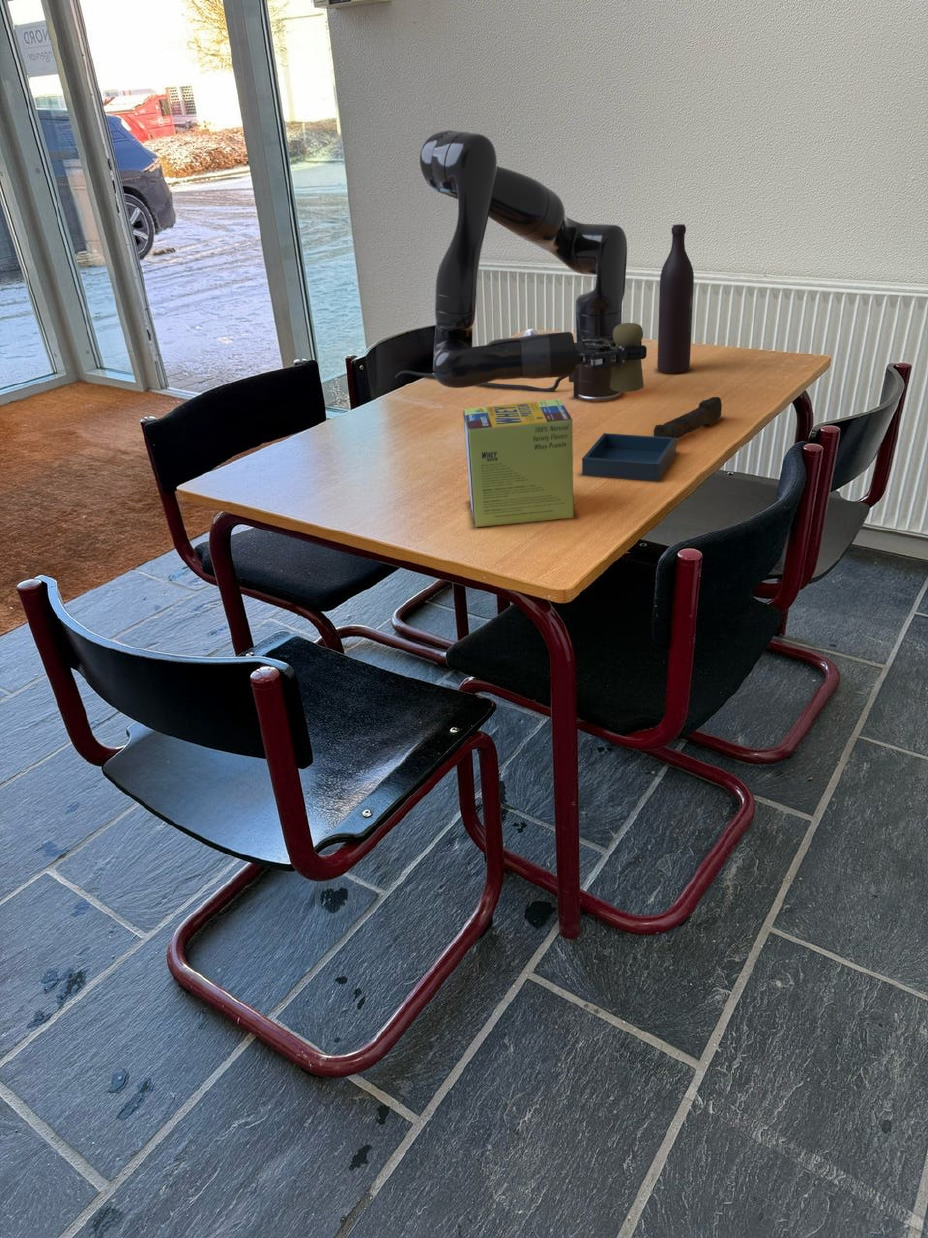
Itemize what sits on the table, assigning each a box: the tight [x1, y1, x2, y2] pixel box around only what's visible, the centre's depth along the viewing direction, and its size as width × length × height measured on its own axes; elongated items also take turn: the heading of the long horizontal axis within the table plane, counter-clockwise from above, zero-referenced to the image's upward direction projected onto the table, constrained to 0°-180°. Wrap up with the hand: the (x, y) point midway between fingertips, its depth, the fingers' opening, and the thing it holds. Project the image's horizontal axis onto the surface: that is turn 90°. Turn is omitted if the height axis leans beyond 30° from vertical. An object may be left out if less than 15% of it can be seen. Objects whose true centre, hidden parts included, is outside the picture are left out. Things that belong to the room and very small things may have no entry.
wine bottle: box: [656, 223, 695, 375], centre depth 195 cm, size 7×7×30 cm
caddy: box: [581, 432, 677, 482], centre depth 154 cm, size 13×13×3 cm
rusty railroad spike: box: [653, 396, 723, 440], centre depth 165 cm, size 19×4×5 cm, turn 132°
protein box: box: [462, 398, 575, 528], centre depth 138 cm, size 10×15×16 cm
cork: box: [610, 322, 645, 393], centre depth 160 cm, size 6×6×11 cm
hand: (643, 348), depth 159 cm, fingers closed on cork, 4 cm apart
